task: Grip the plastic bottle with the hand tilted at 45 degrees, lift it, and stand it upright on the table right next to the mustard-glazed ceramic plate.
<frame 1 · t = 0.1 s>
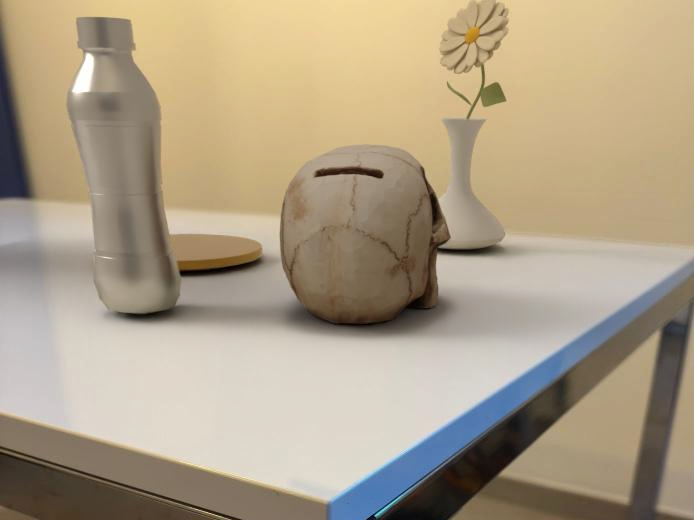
flower in vase: (459, 250, 93), on the table
coin bank: (366, 307, 66), on the table
plate: (182, 260, 83), on the table
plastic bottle: (142, 314, 63), on the table
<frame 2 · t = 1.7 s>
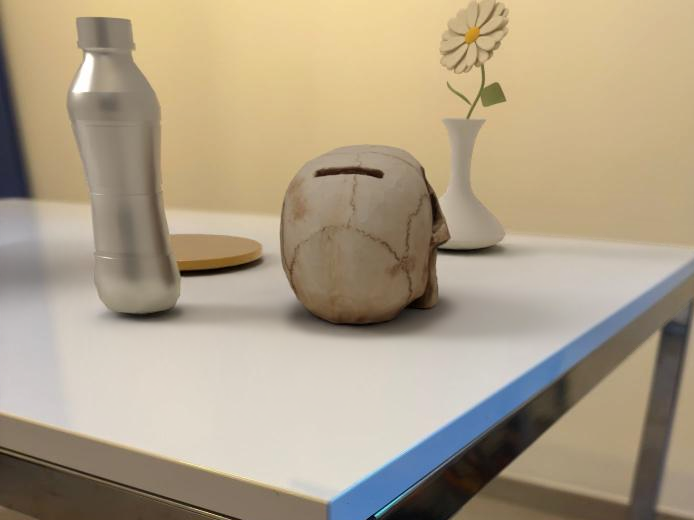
nothing on the table moved.
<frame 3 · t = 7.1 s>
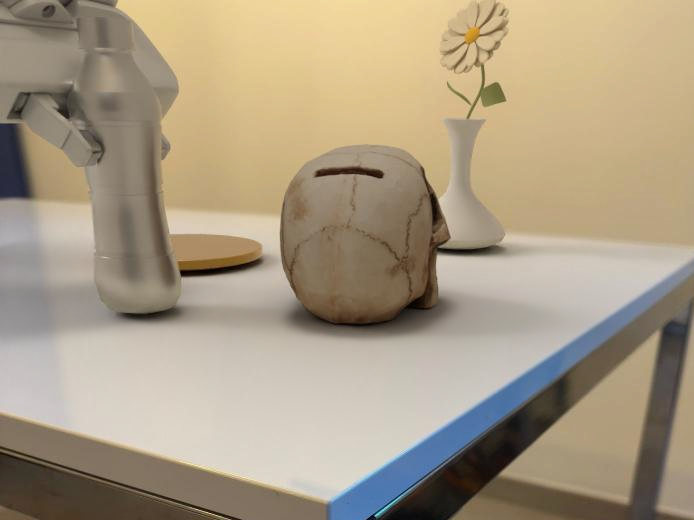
hand: (128, 157, 57), 11 cm above the table, tool tilted 45°, fingers closed on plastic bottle, 6 cm apart
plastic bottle: (142, 314, 63), on the table, touching gripper
everything else where it was.
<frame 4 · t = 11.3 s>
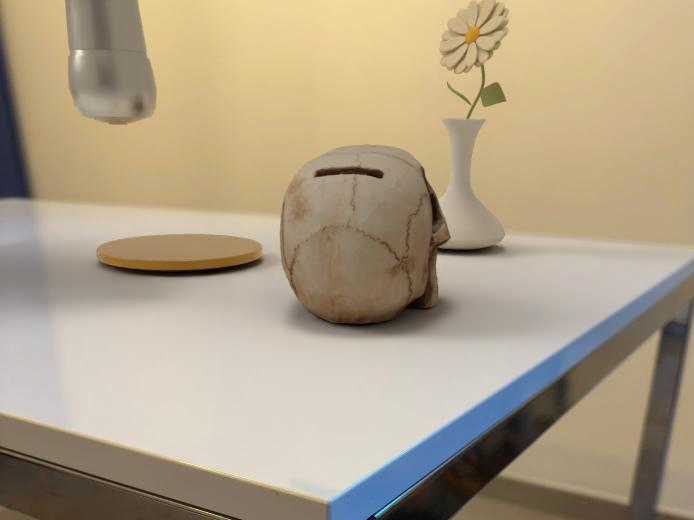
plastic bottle: (117, 127, 63), point 13 cm above the table, touching gripper
everything else where it was.
when the fingers open (11 cm above the table, at t = 15.6 s): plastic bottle stays where it is, on the table.
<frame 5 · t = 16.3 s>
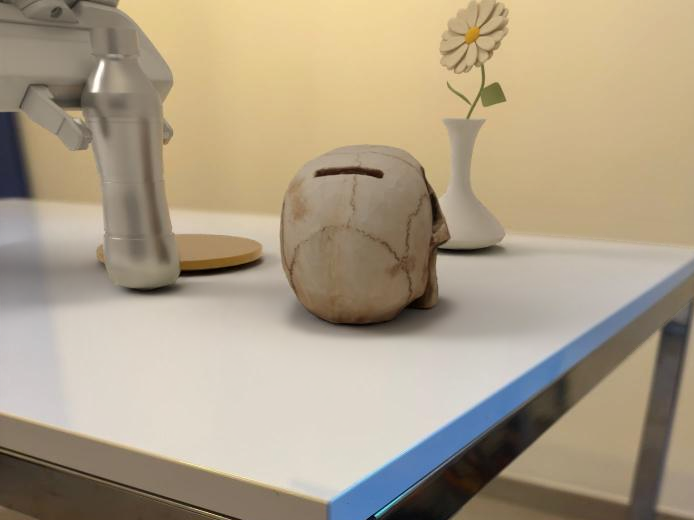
hand: (126, 142, 64), 12 cm above the table, tool tilted 45°, fingers open, 8 cm apart
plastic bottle: (146, 290, 71), on the table
everything else where it was.
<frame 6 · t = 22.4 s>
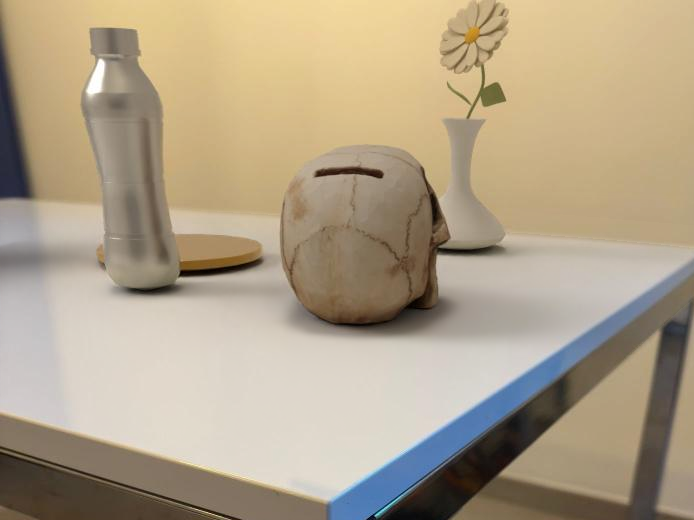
nothing on the table moved.
at the end: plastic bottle inside the target area on the table beside the plate (1.0 cm from its centre), on the table; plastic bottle tilted 0°; the gripper is holding nothing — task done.
